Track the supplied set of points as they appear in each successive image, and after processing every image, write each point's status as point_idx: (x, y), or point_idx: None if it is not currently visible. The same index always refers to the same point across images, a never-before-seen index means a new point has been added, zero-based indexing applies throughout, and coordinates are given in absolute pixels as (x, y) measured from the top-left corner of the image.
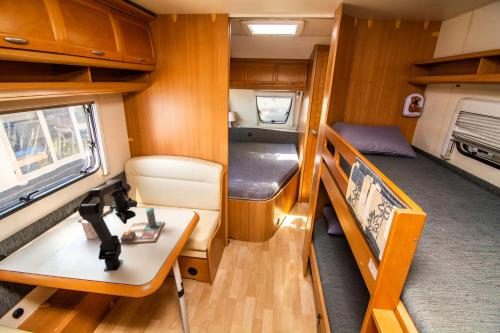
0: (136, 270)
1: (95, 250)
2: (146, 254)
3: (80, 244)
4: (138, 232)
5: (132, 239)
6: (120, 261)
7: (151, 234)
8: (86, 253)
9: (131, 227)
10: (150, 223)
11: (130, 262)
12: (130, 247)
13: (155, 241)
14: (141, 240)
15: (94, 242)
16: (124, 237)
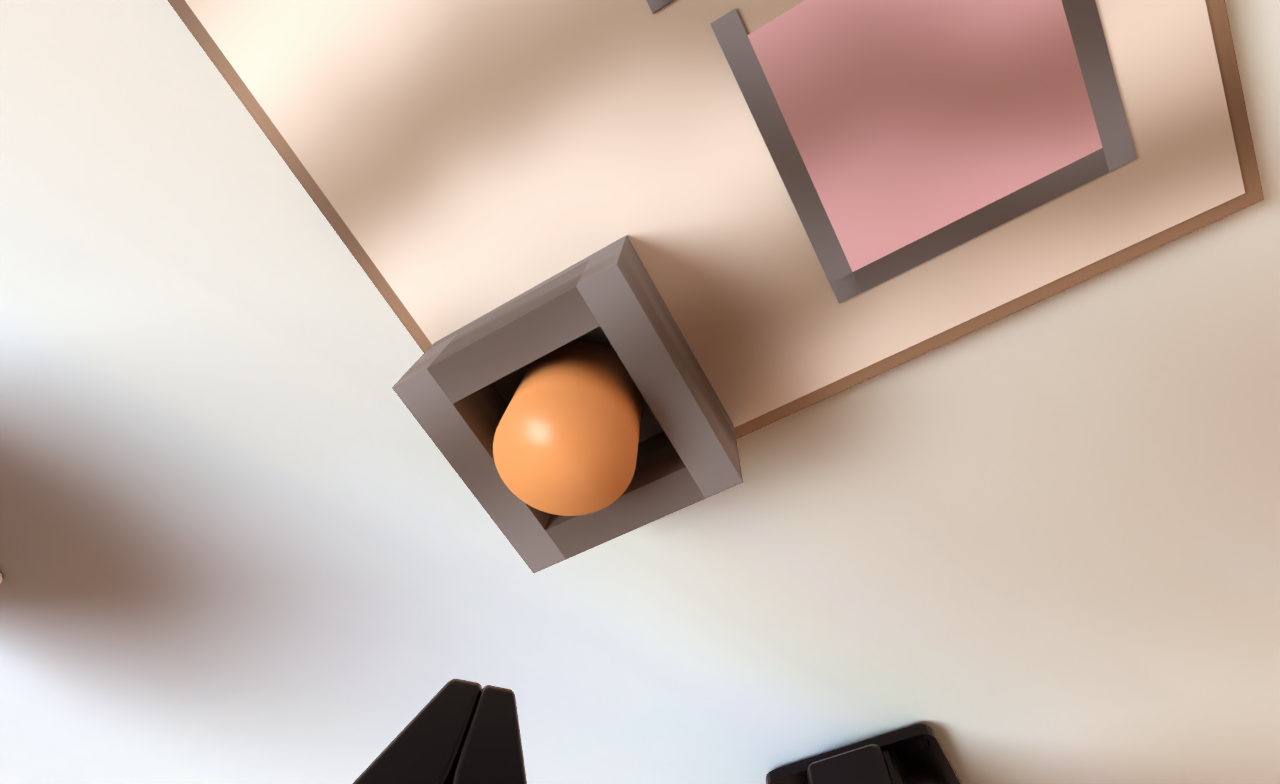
0: (1261, 764)
1: (351, 707)
2: (1235, 523)
3: (23, 699)
4: (586, 117)
5: (714, 401)
6: (925, 754)
7: (1008, 30)
8: (314, 769)
9: (210, 28)
10: None
11: (1067, 704)
12: (802, 501)
13: (1244, 186)
14: (904, 318)
15: (129, 616)
16: (596, 529)
